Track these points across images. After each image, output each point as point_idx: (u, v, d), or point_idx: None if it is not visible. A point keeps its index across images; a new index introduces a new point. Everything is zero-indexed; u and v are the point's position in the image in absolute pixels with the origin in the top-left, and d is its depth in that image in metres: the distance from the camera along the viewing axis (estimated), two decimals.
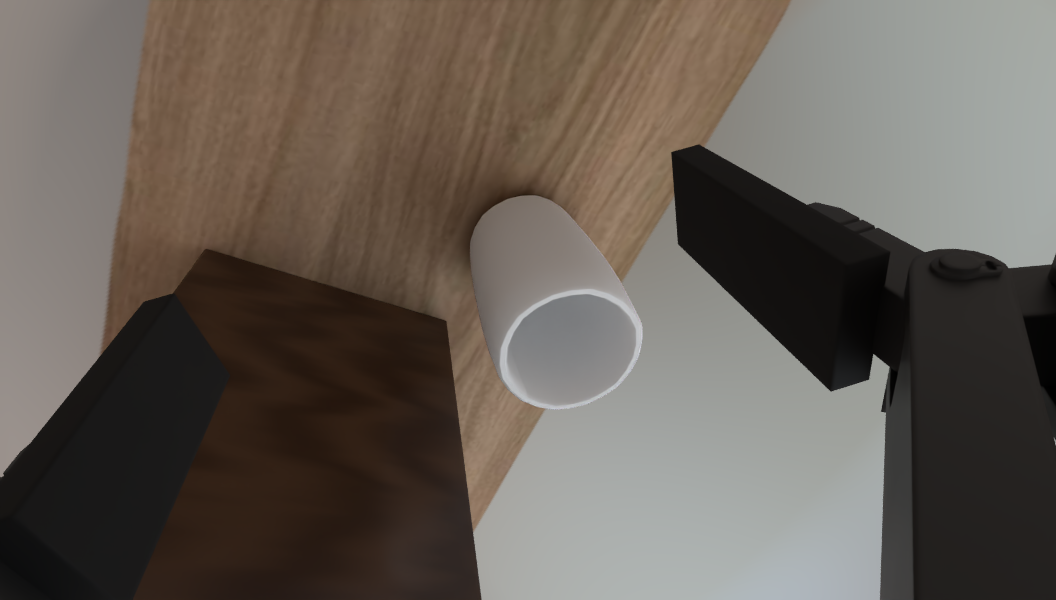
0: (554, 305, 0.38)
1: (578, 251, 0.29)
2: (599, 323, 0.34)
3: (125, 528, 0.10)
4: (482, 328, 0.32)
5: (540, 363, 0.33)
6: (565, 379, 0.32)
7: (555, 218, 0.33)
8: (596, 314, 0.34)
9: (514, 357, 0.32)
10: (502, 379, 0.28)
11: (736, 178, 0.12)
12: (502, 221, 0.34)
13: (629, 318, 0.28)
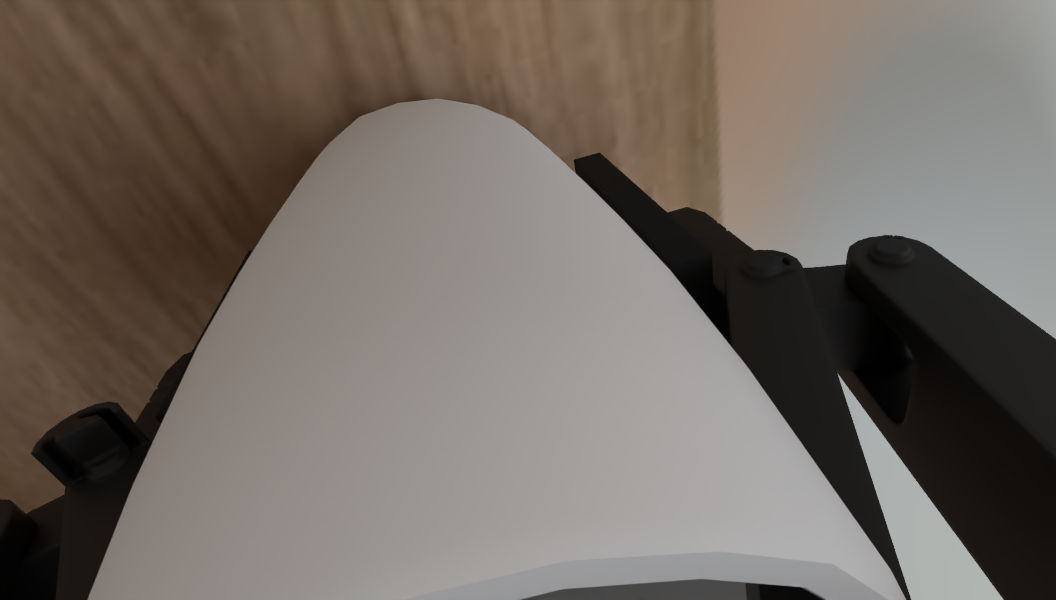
0: None
1: (306, 280, 0.06)
2: None
3: None
4: None
5: None
6: None
7: (336, 160, 0.10)
8: None
9: None
10: None
11: (617, 185, 0.13)
12: None
13: (709, 573, 0.04)
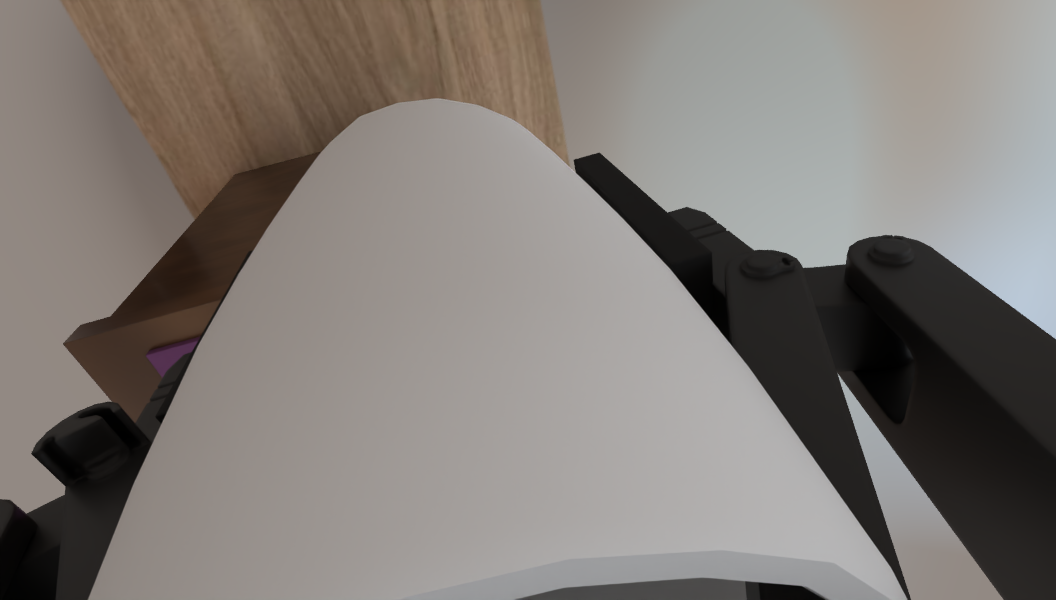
0: None
1: (307, 279, 0.06)
2: None
3: None
4: None
5: None
6: None
7: (337, 159, 0.10)
8: None
9: None
10: None
11: (617, 185, 0.13)
12: None
13: (710, 572, 0.04)
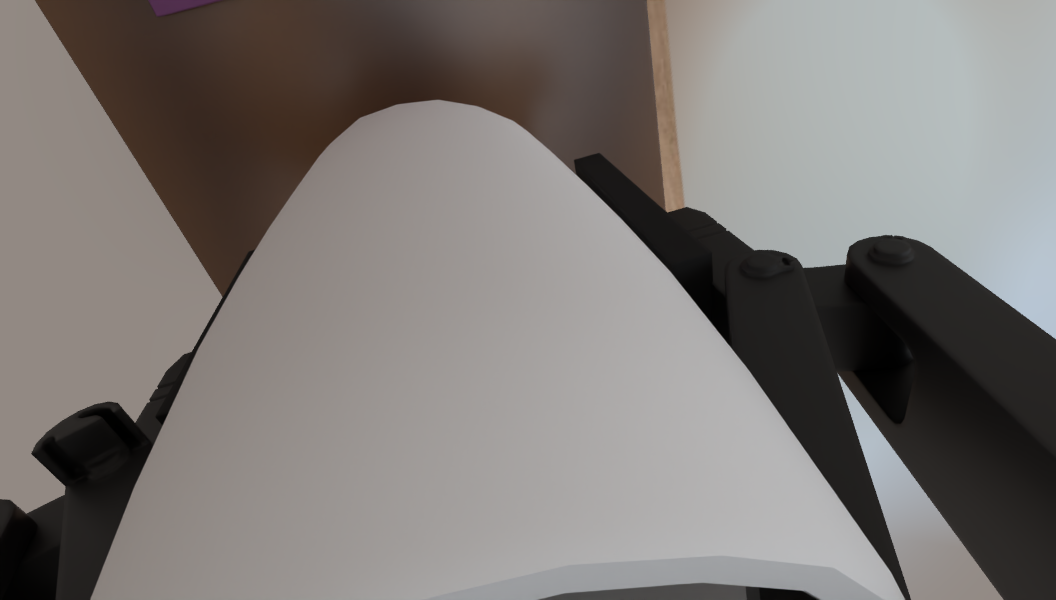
0: None
1: (307, 282, 0.06)
2: None
3: None
4: None
5: None
6: None
7: (337, 162, 0.10)
8: None
9: None
10: None
11: (617, 185, 0.13)
12: None
13: (710, 577, 0.04)
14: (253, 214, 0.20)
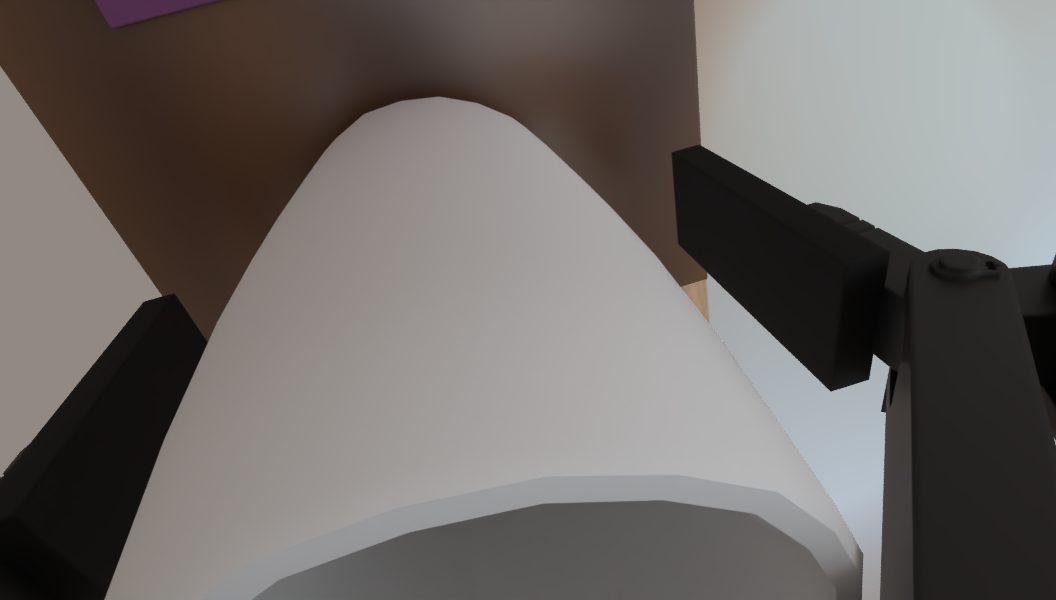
0: None
1: (319, 257, 0.06)
2: None
3: (125, 528, 0.10)
4: None
5: (567, 549, 0.11)
6: None
7: (343, 153, 0.10)
8: None
9: (477, 593, 0.10)
10: None
11: (736, 178, 0.12)
12: None
13: (670, 498, 0.04)
14: (232, 256, 0.17)
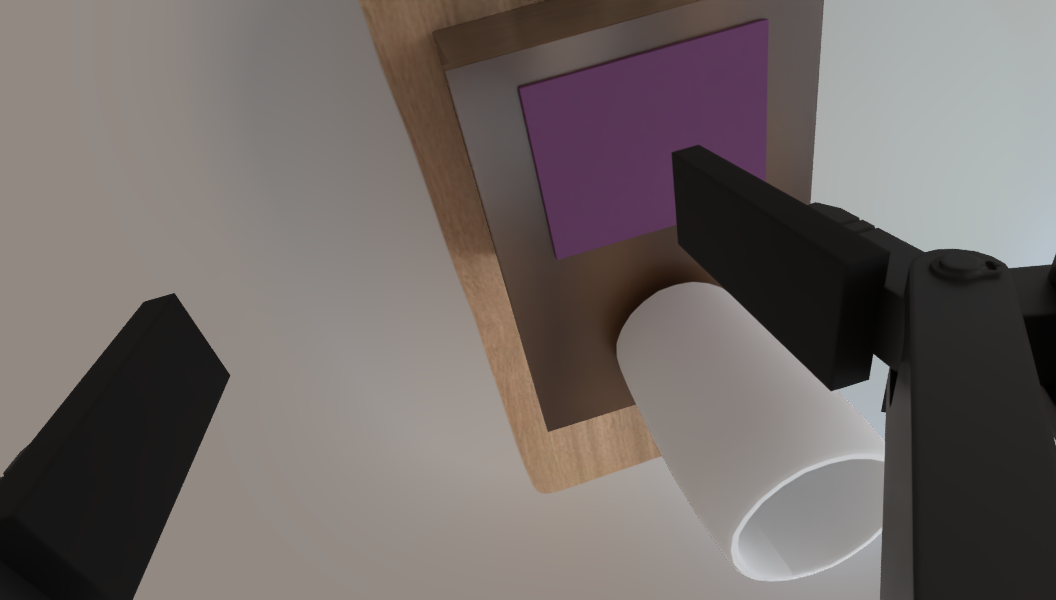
0: None
1: (753, 395, 0.22)
2: None
3: (125, 528, 0.10)
4: None
5: (778, 489, 0.27)
6: (822, 509, 0.25)
7: (698, 334, 0.26)
8: None
9: None
10: (754, 579, 0.23)
11: (736, 178, 0.12)
12: (642, 361, 0.28)
13: (871, 458, 0.20)
14: (568, 350, 0.33)
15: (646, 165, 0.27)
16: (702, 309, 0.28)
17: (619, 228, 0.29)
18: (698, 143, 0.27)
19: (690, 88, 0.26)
